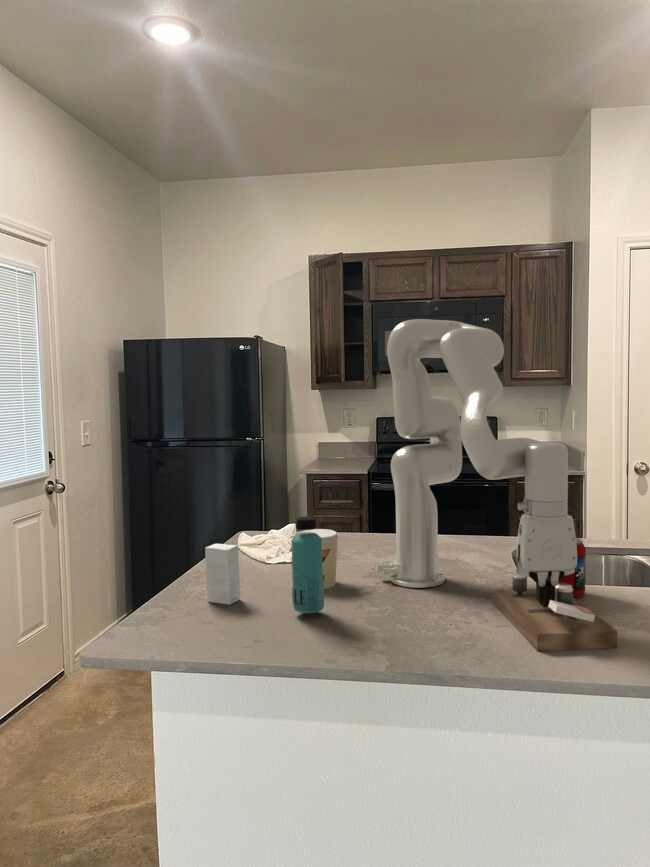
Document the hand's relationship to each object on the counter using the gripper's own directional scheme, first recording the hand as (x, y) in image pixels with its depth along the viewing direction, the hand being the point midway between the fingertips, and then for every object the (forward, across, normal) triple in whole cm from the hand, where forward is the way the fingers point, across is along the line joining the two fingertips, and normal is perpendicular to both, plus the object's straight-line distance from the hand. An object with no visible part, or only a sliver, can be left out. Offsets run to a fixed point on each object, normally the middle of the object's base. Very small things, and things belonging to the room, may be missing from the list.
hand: (545, 604), depth 124 cm
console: (+4, +1, +1) cm, 5 cm away
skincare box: (+4, -62, +22) cm, 66 cm away
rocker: (-1, +1, -8) cm, 8 cm away
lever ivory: (+1, +4, 0) cm, 4 cm away
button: (0, +5, +5) cm, 7 cm away
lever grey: (+1, -2, +9) cm, 9 cm away
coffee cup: (+4, -41, +31) cm, 52 cm away
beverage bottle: (+4, -44, +11) cm, 46 cm away
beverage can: (+4, +12, +17) cm, 21 cm away
